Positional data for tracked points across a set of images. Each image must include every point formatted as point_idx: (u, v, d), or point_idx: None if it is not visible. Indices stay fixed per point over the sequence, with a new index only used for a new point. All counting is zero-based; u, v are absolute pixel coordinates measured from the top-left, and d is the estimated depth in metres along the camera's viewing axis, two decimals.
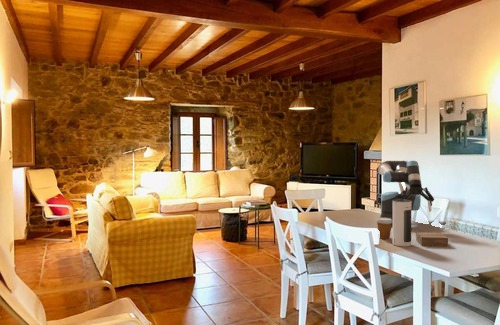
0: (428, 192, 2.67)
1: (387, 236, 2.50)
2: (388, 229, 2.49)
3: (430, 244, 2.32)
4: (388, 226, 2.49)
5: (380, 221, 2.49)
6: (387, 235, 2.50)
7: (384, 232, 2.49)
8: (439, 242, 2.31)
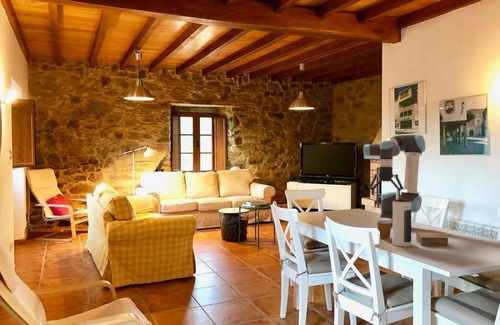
0: (398, 180, 2.49)
1: (387, 236, 2.50)
2: (388, 229, 2.49)
3: (430, 244, 2.32)
4: (388, 226, 2.49)
5: (380, 221, 2.49)
6: (387, 235, 2.50)
7: (384, 232, 2.49)
8: (439, 242, 2.31)
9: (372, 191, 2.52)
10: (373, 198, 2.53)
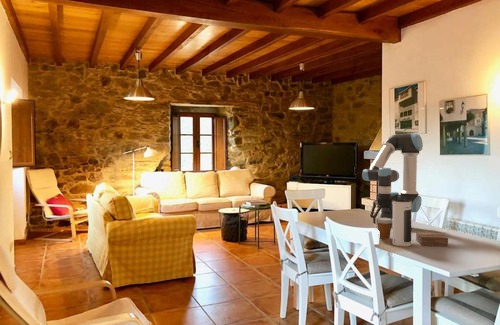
0: None
1: (387, 236, 2.50)
2: (388, 229, 2.49)
3: (430, 244, 2.32)
4: (388, 226, 2.49)
5: (380, 221, 2.49)
6: (387, 235, 2.50)
7: (384, 232, 2.49)
8: (439, 242, 2.31)
9: (374, 220, 2.53)
10: (375, 226, 2.54)
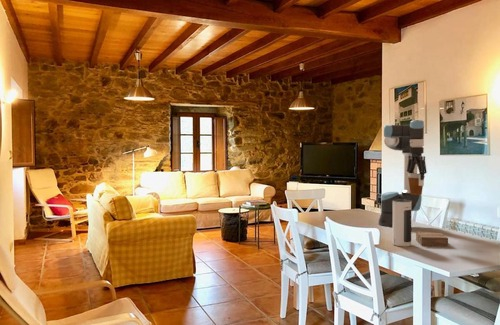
0: (420, 163, 2.34)
1: (412, 191, 2.40)
2: (412, 183, 2.39)
3: (430, 244, 2.32)
4: (412, 181, 2.39)
5: None
6: (412, 190, 2.40)
7: (410, 187, 2.41)
8: (439, 242, 2.31)
9: None
10: None
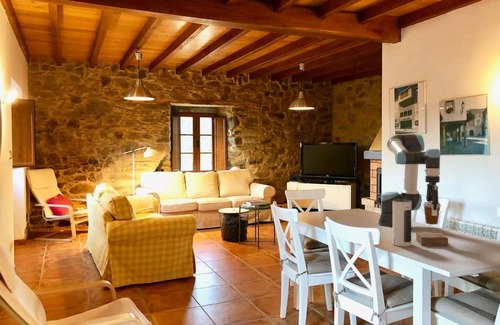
0: (433, 193, 2.31)
1: (426, 220, 2.37)
2: (426, 212, 2.37)
3: (430, 244, 2.32)
4: (426, 210, 2.37)
5: None
6: (426, 219, 2.37)
7: (425, 215, 2.39)
8: (439, 242, 2.31)
9: None
10: None
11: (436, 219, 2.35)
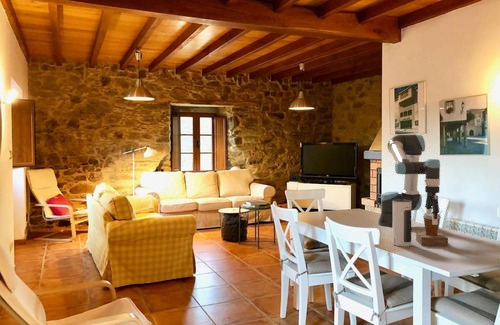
0: (433, 202, 2.31)
1: (426, 232, 2.38)
2: (426, 224, 2.37)
3: (430, 244, 2.32)
4: (426, 221, 2.37)
5: None
6: (426, 231, 2.38)
7: None
8: (439, 242, 2.31)
9: None
10: None
11: (436, 231, 2.35)
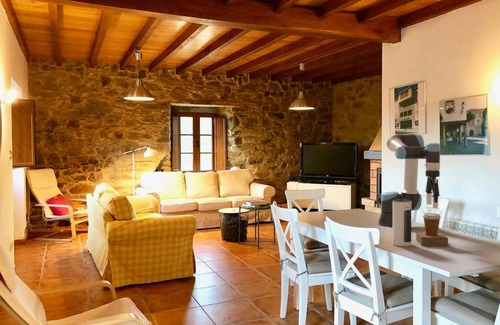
0: (433, 186, 2.30)
1: (426, 232, 2.38)
2: (426, 224, 2.37)
3: (430, 244, 2.32)
4: (425, 221, 2.37)
5: None
6: (426, 231, 2.38)
7: None
8: (439, 242, 2.31)
9: (427, 194, 2.46)
10: None
11: (436, 231, 2.35)
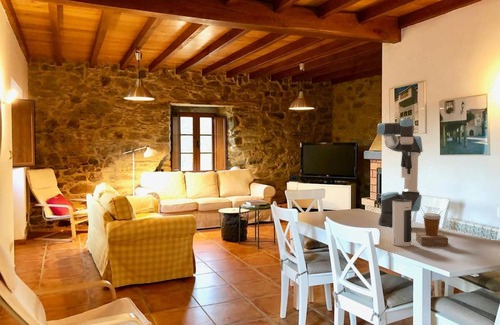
0: (406, 158, 2.44)
1: (426, 232, 2.38)
2: (426, 224, 2.37)
3: (430, 244, 2.32)
4: (425, 221, 2.37)
5: None
6: (426, 231, 2.38)
7: None
8: (439, 242, 2.31)
9: (402, 168, 2.60)
10: None
11: (436, 231, 2.35)
